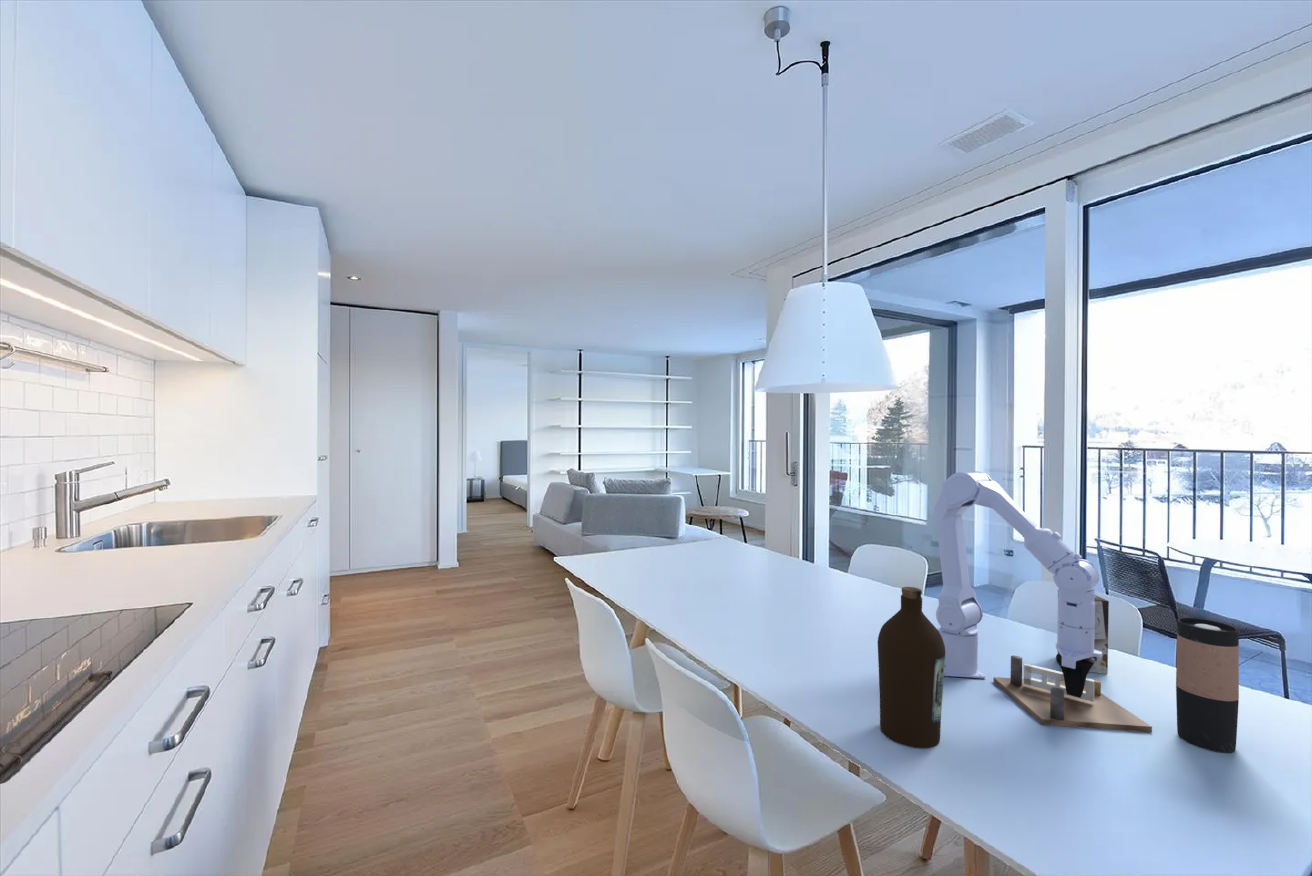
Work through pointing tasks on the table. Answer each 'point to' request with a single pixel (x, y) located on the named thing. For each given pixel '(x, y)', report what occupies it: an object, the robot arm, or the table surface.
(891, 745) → the table surface
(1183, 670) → the travel mug
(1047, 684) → the gate
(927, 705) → the olive oil
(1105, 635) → the coffee box
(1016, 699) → the board
